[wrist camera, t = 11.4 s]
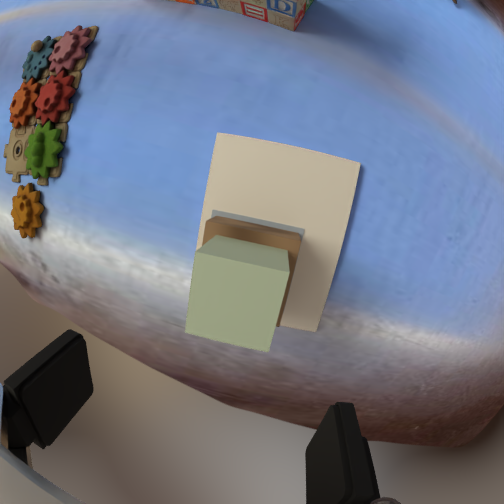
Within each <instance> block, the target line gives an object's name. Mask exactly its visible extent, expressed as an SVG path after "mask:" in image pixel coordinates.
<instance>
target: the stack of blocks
mask: <svg viewBox="0 0 504 504" xmlns="http://www.w3.org/2000/svg"><path fill="white" fill-rule="evenodd" d="M169 1H177V2H184V3H190V4H199V5H204V6H209V7H214V8H220V9H224V10H228V11H232V12H236V13H240V14H243V15H246V16H249V17H252V18H256V19H259V20H262V21H265V22H269V23H271V24H274V25H277V26H280V27H282V28H285V29H288V30H291V31H295V29H296V27H297V26H298V24H299V23H300V21H301V20H302V18H303V16H304V14H305V13H306V11H307V10H308V8H309V7H310V5H311V4H312V2H313V1H314V0H169Z"/></svg>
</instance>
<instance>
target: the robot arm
mask: <svg viewBox="0 0 504 504" xmlns="http://www.w3.org/2000/svg"><path fill="white" fill-rule="evenodd" d="M4 384H5V385H4V386H2V385H1V383H0V504H86V503H85V502H83V501H81V500H79V499H77V498H76V497H74V496H72V495H71V494H69V493H67V492H66V491H64V490H62V489H61V488H59V487H58V486H56V485H54V484H53V483H52V482H50V481H48V480H47V479H46V478H44V477H43V476H41V475H40V474H39V473H37V472H36V471H34V470H33V466H32V459H31V450H30V445H31V443H32V442H34V443H35V444H36V445H38V446H39V447H41V448H42V449H44V448H45V447H46V446H50V445H51V444H52V443H53V442H54V440H55V439H56V438H57V437H58V435H59V434H60V433H61V432H62V430H63V429H64V428H65V427H66V426H67V424H68V423H69V422H70V421H71V419H72V418H73V417H74V416H75V415H76V413H77V412H78V411H79V410H80V408H81V407H82V406H83V405H84V403H85V402H86V401H87V400H88V399H89V398H90V396H91V395H92V393H93V383H92V378H91V373H90V367H89V361H88V354H87V347H86V341H85V340H84V339H83V336H82V335H81V334H79V333H77V332H75V331H73V330H67V331H66V332H64V333H63V334H62V335H61V336H59V337H58V338H57V339H55V340H54V341H53V342H51V343H50V344H49V345H48V346H46V347H45V348H44V349H43V350H41V351H40V352H39V353H38V354H36V355H35V356H34V357H33V358H31V359H30V360H29V361H28V362H26V363H25V364H24V365H23V366H22V367H20V368H19V369H18V370H17V371H15V372H14V373H13V374H12V375H11V376H9V377H8V378H7V379H6V380H5V381H4ZM306 504H401V503H400V502H398V501H397V500H395V499H392V498H387V497H383V498H380V494H379V489H378V484H377V479H376V475H375V470H374V466H373V462H372V458H371V453H370V449H369V445H368V442H367V439H366V438H365V437H362V436H361V432H360V428H359V424H358V420H357V416H356V412H355V408H354V405H353V404H352V403H345V402H336V403H335V405H331V406H330V407H329V409H328V411H327V413H326V414H325V416H324V418H323V420H322V422H321V424H320V425H319V427H318V429H317V431H316V433H315V434H314V436H313V438H312V439H311V441H310V443H309V445H308V446H307V449H306Z"/></svg>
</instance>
